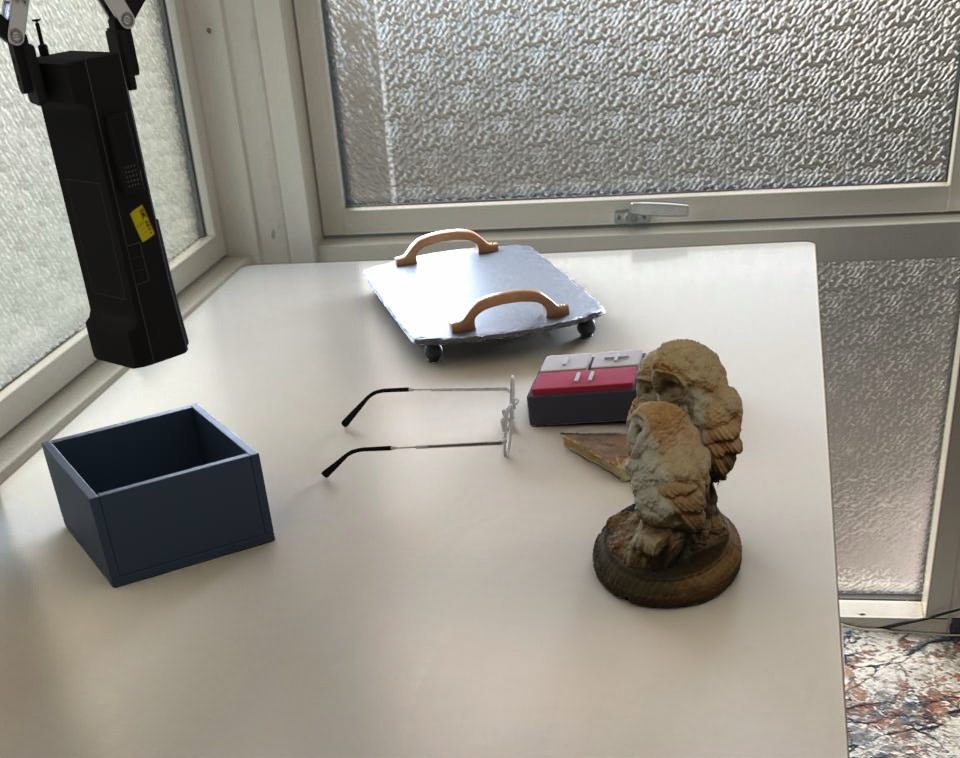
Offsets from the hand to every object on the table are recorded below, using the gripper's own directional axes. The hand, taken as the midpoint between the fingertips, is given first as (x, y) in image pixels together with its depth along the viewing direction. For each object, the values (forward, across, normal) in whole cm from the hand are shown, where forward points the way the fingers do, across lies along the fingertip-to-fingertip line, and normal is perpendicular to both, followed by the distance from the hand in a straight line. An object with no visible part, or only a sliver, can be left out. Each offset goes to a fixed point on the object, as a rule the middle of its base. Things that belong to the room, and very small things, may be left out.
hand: (83, 93), depth 103 cm
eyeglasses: (+34, -25, +3) cm, 42 cm away
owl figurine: (+34, -28, +37) cm, 58 cm away
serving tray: (+34, -50, -32) cm, 68 cm away
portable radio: (+20, 0, 0) cm, 20 cm away
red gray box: (+34, -44, +6) cm, 56 cm away
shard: (+34, -36, +19) cm, 53 cm away
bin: (+34, +3, +5) cm, 34 cm away
